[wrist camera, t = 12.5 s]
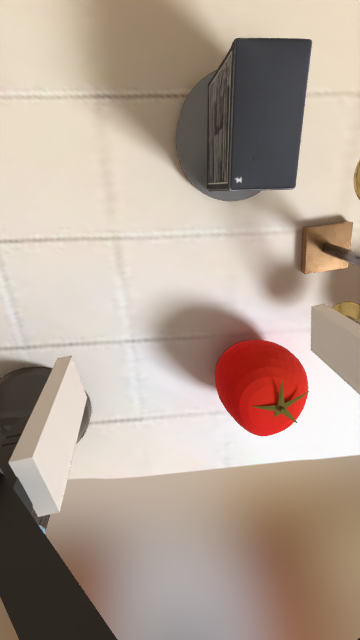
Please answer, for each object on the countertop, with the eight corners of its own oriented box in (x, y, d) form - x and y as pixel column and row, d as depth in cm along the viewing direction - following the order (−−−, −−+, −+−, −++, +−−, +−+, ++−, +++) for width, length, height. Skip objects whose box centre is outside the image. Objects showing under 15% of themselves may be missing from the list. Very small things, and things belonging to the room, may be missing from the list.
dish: (182, 207, 37) (183, 208, 36) (168, 77, 32) (169, 73, 31) (285, 193, 38) (289, 193, 37) (288, 62, 32) (293, 58, 31)
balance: (298, 327, 46) (359, 385, 33) (306, 151, 36) (398, 132, 23) (336, 321, 46) (412, 377, 33) (355, 145, 36) (474, 122, 23)
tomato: (209, 402, 50) (224, 459, 40) (209, 328, 45) (227, 371, 34) (281, 396, 51) (315, 450, 41) (290, 322, 45) (332, 362, 35)
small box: (259, 189, 36) (299, 191, 27) (205, 191, 36) (226, 194, 26) (267, 80, 32) (318, 36, 22) (206, 81, 31) (231, 35, 22)
